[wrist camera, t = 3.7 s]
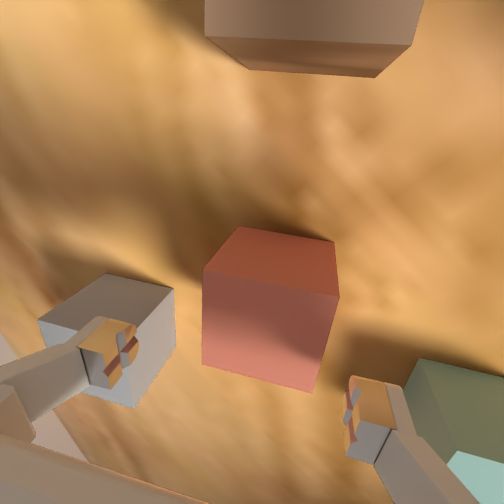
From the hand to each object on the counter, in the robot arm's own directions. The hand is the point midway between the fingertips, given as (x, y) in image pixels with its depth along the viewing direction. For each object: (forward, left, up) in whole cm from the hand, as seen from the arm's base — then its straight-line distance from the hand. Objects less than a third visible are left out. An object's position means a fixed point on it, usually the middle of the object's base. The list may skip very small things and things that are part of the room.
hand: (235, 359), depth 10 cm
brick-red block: (-1, 0, -6) cm, 6 cm away
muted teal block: (-12, +6, -6) cm, 14 cm away
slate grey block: (+8, +5, -6) cm, 11 cm away
